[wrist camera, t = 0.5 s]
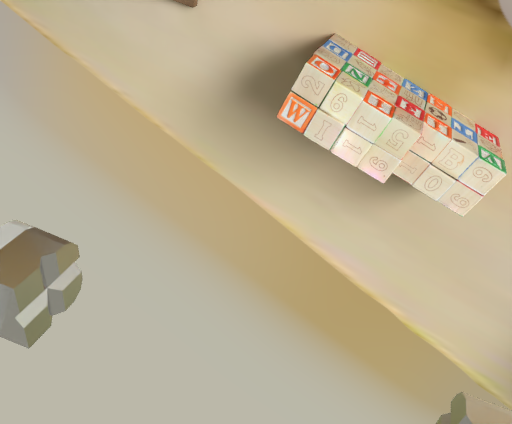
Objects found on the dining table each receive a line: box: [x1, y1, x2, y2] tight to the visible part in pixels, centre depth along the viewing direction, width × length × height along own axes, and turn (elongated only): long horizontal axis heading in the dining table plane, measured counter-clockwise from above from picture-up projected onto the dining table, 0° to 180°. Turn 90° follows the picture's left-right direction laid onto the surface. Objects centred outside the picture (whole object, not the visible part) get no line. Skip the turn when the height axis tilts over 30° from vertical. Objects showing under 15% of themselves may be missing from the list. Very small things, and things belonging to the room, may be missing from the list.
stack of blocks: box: [277, 34, 507, 217], centre depth 47 cm, size 21×6×12 cm, turn 64°
